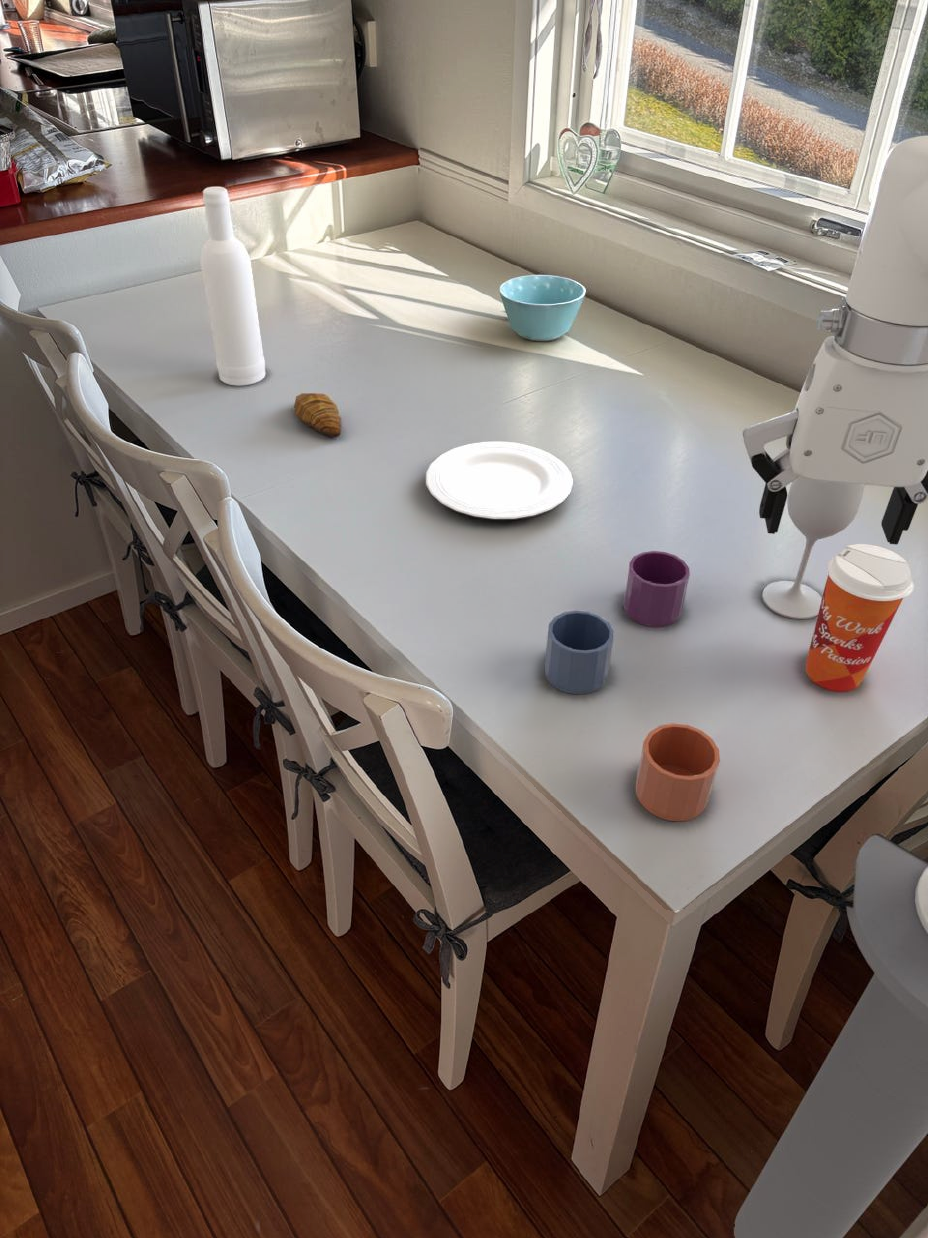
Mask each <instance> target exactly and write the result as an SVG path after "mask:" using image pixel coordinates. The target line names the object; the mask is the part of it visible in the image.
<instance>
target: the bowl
mask: <svg viewBox="0 0 928 1238" xmlns="http://www.w3.org/2000/svg"><path fill="white" fill-rule="evenodd" d="M498 290H499V291H498V292H499V295H500V299H501V302H502V305H503V308H504V311H505V315H506V317H507V321H508V323H509V326H510V328H511V330H513V331H514V332H515V333H516V334H517V335H518V336H519V337H520V338H523V339H525V340H528V341H533V342H534V341H535V342H548V341H549V342H550V341H554V340H557V339H559V338H561V337H563V335H565V334H567V333H568V332H569V331H570V329H571V327H572V326H573V323H574V321H575V319H576V317H577V315H578V313H579V310H580V308H581V306H582V303H583V301H584V298H585V296H586V292H587V291H586V288H585V286H584V285H582V284H581V283H580V282H578V281H576V280H573V279H571V278H568V277H564V276H559V275H552V274H551V275H550V274H529V275H522V276H517V277H513V278H510V279H508V280H506V281H504V282H503V283H502V284H500V286H499V289H498Z"/></svg>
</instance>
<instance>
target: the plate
mask: <svg viewBox="0 0 928 1238" xmlns="http://www.w3.org/2000/svg"><path fill="white" fill-rule="evenodd" d="M425 486H426V489H428V492H429V494H430V496H431V497H433V498H434V499H435V500H436V501H437V502H438V503H440V504H441V505H442V506H444V507H446V508H448V509H450V510H452V511H454V512H456V513H458V514H460V515H461V514H462V515H464V516H468V517H470V518H475V519H483V520H490V521H515V520H522V519H528V518H534V517H537V516H539V515H540V516H541V515H542V514H546V513H548V512H551V511H552V510H554V509H555V508H557V507H559V506H560V505H562V504H563V503H564V502H565V501H566V500H567V498H569V496H570V495H571V493H572V489H573V486H574V480H573V476H572V472H571V471H570V469H569V468H568V467H567V465H566V464H565V463H564V462H563V461H562V460H560V459H559V458H558V457H556V456H555V455H554V454H552V453H550V452H547V451H545V450H543V449H541V448H538V447H535V446H531V445H527V444H523V443H519V442H510V441H480V442H474V443H468V444H467V443H466V444H465V445H461V446H457V447H454V448H451V449H450V450H448V451H446V452H444V453H442V454H440V455H439V456H438V457H437V458H435V459H434V460H433V461H432V462H431V463H430V464H429V466H428V468H427V470H426V472H425Z"/></svg>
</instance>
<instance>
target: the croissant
mask: <svg viewBox="0 0 928 1238" xmlns="http://www.w3.org/2000/svg"><path fill="white" fill-rule="evenodd" d="M293 409H294V413H295V415H296V417H297V418H298V419H299V420H300V421H301V422H302V423H304V425H306V426H307V427H309V428H310V429H313V430H314V431H316V432H317V433H318V434H321V435H323V436H326V437H330V438H337V437H340V436H341V433H342V417H341V416H340V415H339V409H338V407H337V404H336V403H335V402H334V401H333V400H332V399H331V397H330V396H329V395H327V394H324V393H315V392H314V393H313V392H311V393H308V392H307V393H305V392H303V393H300V394H298V395H296V396H295V401H294V404H293Z"/></svg>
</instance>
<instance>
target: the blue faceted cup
mask: <svg viewBox="0 0 928 1238" xmlns="http://www.w3.org/2000/svg"><path fill="white" fill-rule="evenodd" d="M614 632H615V631H614V628H613V627H612V625H611V624H610V622H609V621H608V620H607V619H605V618H604V617H602V616H601V615H598V614H596V613H594V612H590V611H586V610H570V611H563V612H562V613H560V614H558V615H556V616H554V617H553V618H552V620H551V621H550V622H549V623H548V627H547V638H546V639H547V640H546V648H545V649H546V650H545V658H544V659H545V660H544V676H545V678H546V680H547V681H548V682H549V684H550V685H551V686H552V687H554V688H556V689H557V690H559V691H561V692H563V693H567V694H571V695H572V694H573V695H586V694H590V693H594V692H595V691H598V690H599V689H601V688H602V687H603V686H604V685H605V683H606V682H607V679H608V677H609V670H610V663H611V658H612V657H611V656H612V649H613V645H614V644H613V643H614Z"/></svg>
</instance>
